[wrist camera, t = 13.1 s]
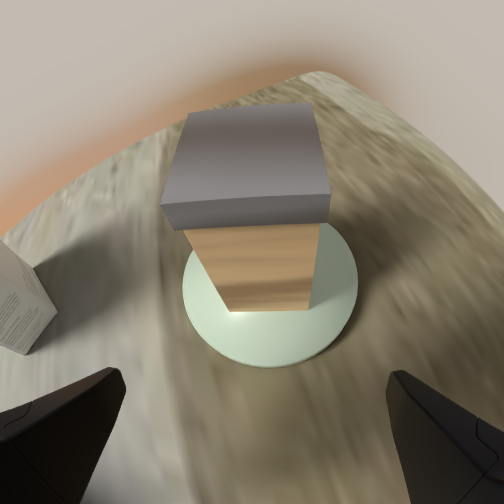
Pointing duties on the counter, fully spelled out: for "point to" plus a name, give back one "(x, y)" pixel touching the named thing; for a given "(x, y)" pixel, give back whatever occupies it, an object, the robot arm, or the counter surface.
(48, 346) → the counter surface
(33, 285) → the skincare box
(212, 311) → the sage green coaster
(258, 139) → the grey cushioned footstool
